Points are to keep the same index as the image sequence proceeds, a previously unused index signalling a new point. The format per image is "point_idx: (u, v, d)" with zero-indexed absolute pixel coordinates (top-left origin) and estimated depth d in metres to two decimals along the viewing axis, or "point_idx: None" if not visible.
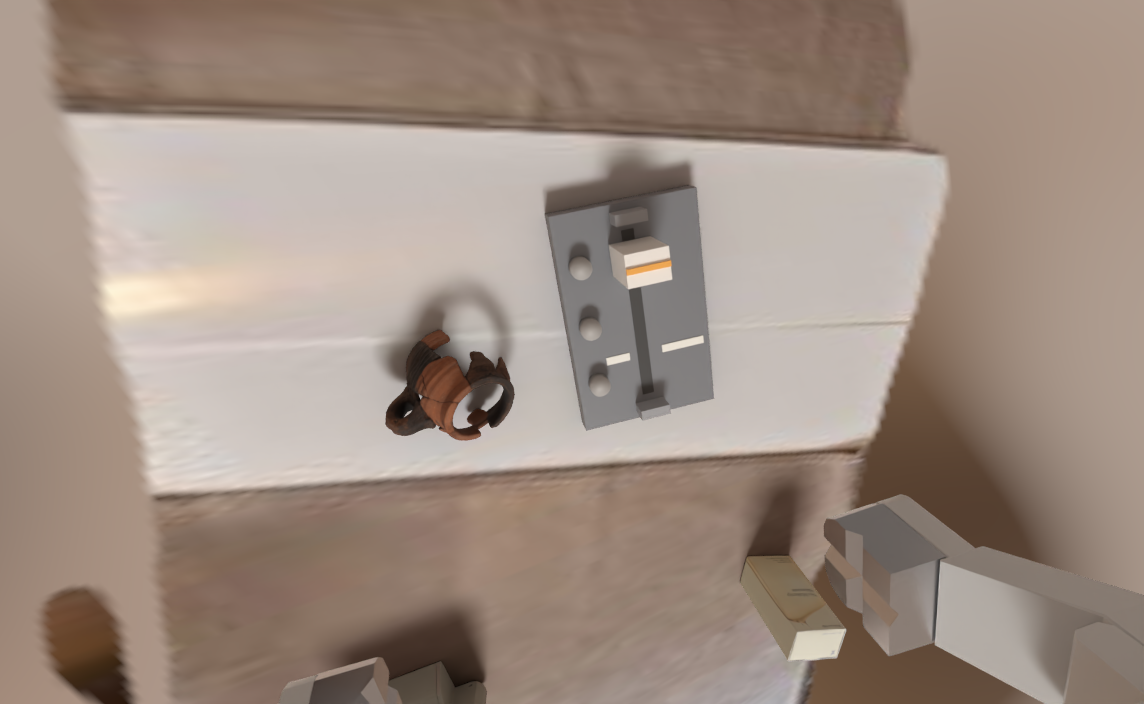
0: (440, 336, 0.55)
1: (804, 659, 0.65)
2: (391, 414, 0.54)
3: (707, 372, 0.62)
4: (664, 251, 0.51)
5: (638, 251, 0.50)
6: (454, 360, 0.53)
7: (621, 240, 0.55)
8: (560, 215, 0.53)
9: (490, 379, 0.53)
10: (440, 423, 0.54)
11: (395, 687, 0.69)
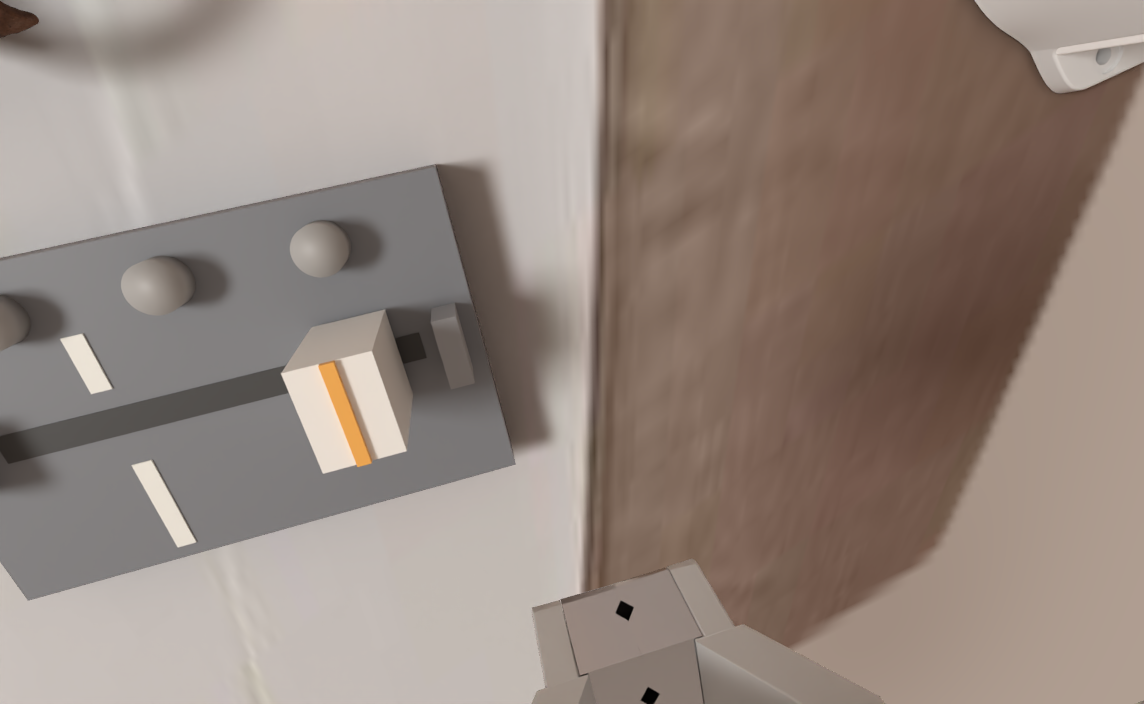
0: None
1: None
2: None
3: (99, 571, 0.26)
4: (391, 443, 0.21)
5: (384, 384, 0.21)
6: None
7: (397, 336, 0.25)
8: (440, 195, 0.24)
9: None
10: None
11: None
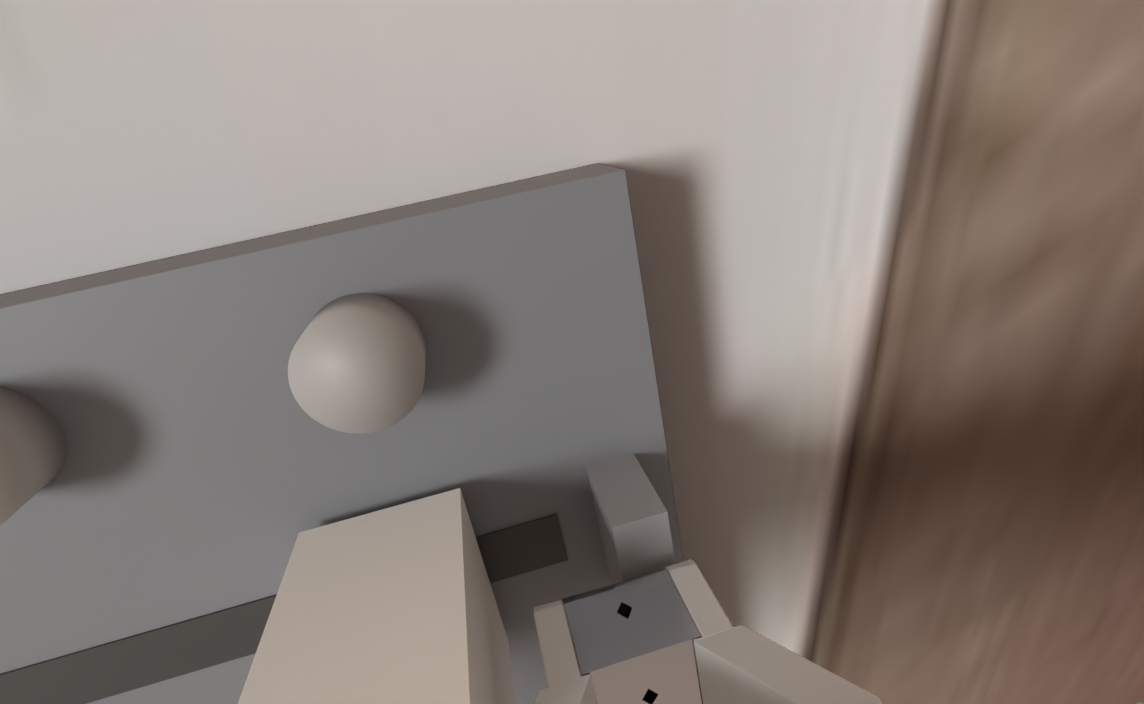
0: None
1: None
2: None
3: None
4: None
5: None
6: None
7: (512, 523, 0.12)
8: (629, 234, 0.11)
9: None
10: None
11: None
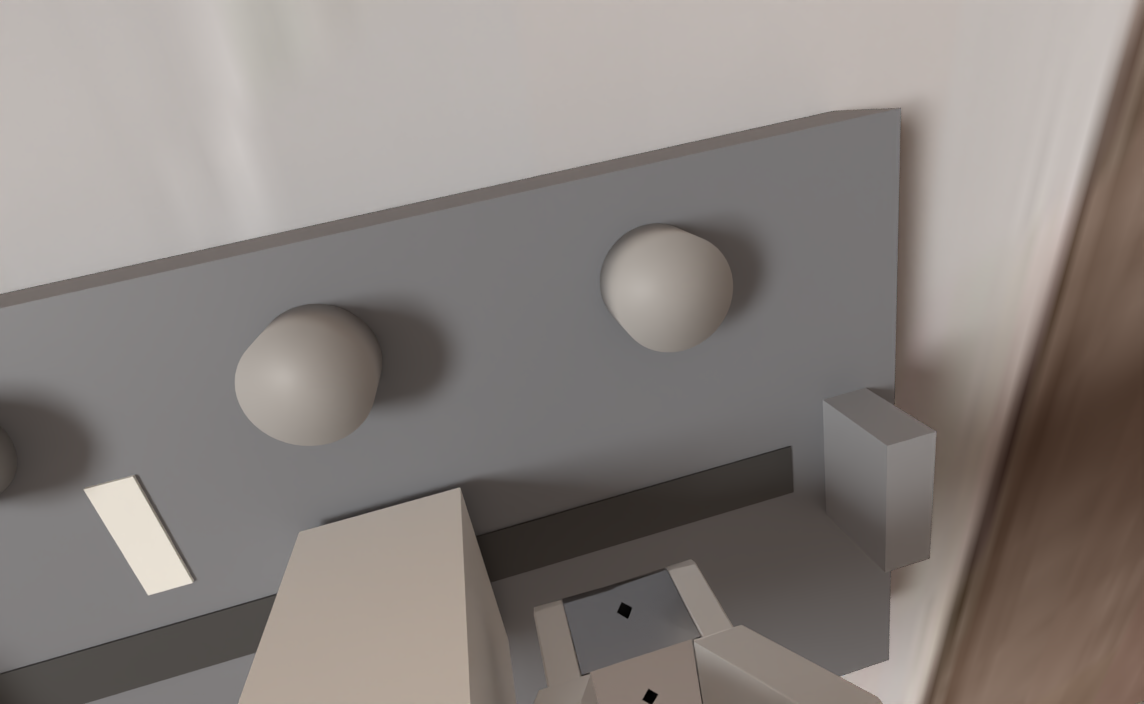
0: None
1: None
2: None
3: None
4: None
5: None
6: None
7: (750, 454, 0.13)
8: (894, 171, 0.11)
9: None
10: None
11: None
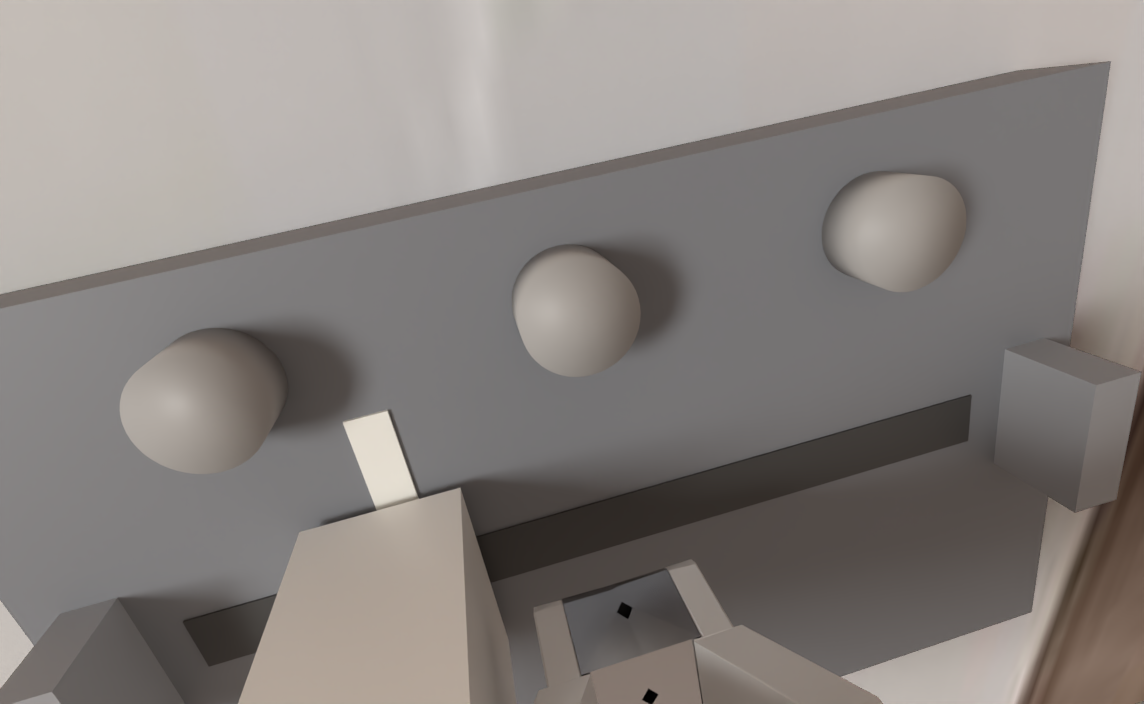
0: None
1: None
2: None
3: None
4: None
5: None
6: None
7: (934, 402, 0.13)
8: (1096, 124, 0.12)
9: None
10: None
11: None
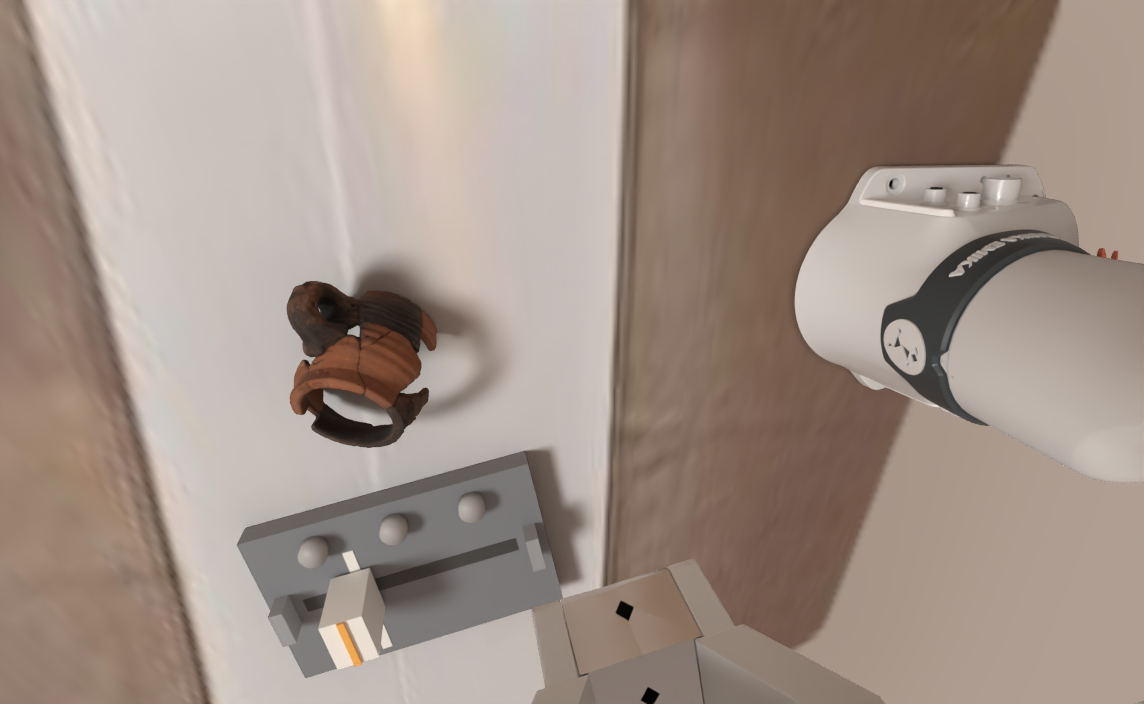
0: (434, 338, 0.42)
1: None
2: (319, 294, 0.36)
3: None
4: (371, 654, 0.43)
5: (368, 627, 0.42)
6: (418, 374, 0.39)
7: (504, 540, 0.48)
8: (530, 475, 0.47)
9: (399, 426, 0.39)
10: (318, 366, 0.37)
11: None
